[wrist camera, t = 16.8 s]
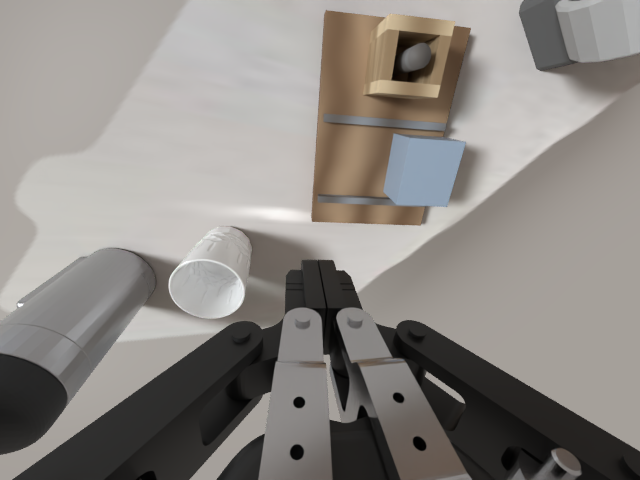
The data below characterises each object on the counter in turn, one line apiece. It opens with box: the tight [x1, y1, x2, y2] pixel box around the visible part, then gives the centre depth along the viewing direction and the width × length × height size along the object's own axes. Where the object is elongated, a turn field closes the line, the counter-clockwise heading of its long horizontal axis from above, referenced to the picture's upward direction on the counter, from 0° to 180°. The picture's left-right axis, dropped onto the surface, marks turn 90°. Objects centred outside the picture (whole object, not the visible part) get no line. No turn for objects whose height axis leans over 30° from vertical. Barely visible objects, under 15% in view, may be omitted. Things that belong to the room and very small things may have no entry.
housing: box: [383, 133, 466, 207], centre depth 31 cm, size 6×7×5 cm
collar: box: [363, 14, 455, 99], centre depth 26 cm, size 6×6×6 cm
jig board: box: [311, 10, 471, 225], centre depth 29 cm, size 15×22×8 cm
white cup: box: [169, 226, 252, 319], centre depth 34 cm, size 8×8×10 cm
